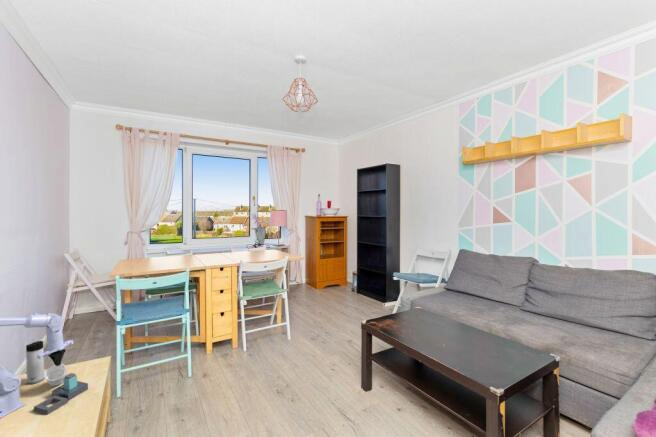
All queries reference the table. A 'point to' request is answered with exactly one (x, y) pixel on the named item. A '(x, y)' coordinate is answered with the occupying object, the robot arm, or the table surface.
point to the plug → (70, 381)
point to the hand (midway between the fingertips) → (57, 365)
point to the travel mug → (34, 363)
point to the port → (70, 391)
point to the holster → (47, 410)
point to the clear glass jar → (55, 374)
